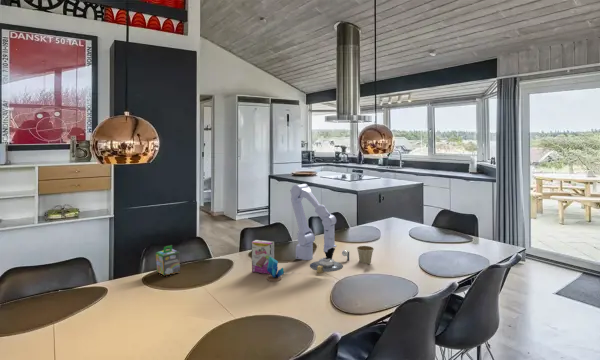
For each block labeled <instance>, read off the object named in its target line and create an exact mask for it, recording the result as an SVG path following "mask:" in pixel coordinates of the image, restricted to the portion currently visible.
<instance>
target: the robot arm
mask: <svg viewBox="0 0 600 360" xmlns="http://www.w3.org/2000/svg"><path fill="white" fill-rule="evenodd" d="M290 194H291V195H290V201H291V206H292V208H293V211H294V217H295V219H296V223H297V226H298V231H297V233H296V234H297V235H296V236H297V242H298V244H296V245H295V260H303V261H310V260H313V259H314V257H313V256H314V255H313V254H314V253H313V252H314V250H313V249H314V248H313V247H314V245H313V244H314V242H315V240H316V235H315V233H313V230H312V228H310V227H309V225H308V222H307V218H306V214H305V211H304V207H303V204H302V200H303V199H307V201H308V202H309V203H310V204H311V205H312V207H314V212H315V213H316V214H317V215H318V217H319V218H320V220H322V221H321V224H322V226H323V240H324V241H323V253H324V254H325V257H328V258H331V259H333V256H334V252H335V250H336V247H337V245H336V243H335V234H336V233H335V230H336V229H335V225H336V224H337V218H336V216H335V215H334V214H331V212H329V211H328V209H327V206H325V205H324V204H320V202H319V201H318V199H317V198H316V196H315V195H314V194H313V192H312V189H311V188H310V186H309V185H308V184H307V183H302V184H301V183H300V184H294V185H292V187H291V189H290Z"/></svg>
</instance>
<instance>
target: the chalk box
mask: <svg viewBox="0 0 600 360" xmlns="http://www.w3.org/2000/svg"><path fill="white" fill-rule="evenodd" d="M155 262H156V265H155V266H156V273H157V272H159V273H161V274H163V275H166V274H170V273H173V272H178V271H180V272H181V260H180V251H179V250H175V249H173V244H170V245H165V246H163V250H160V251H157V252H155Z"/></svg>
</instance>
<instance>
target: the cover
mask: <svg viewBox="0 0 600 360" xmlns="http://www.w3.org/2000/svg"><path fill="white" fill-rule="evenodd" d="M318 261H319V265H320V266H323V268H332V267H334V261H335V260H334V259H333V258H332V259H331V258H328V257H326V256H325V257H322V258H319V260H318Z"/></svg>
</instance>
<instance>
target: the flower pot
mask: <svg viewBox="0 0 600 360" xmlns="http://www.w3.org/2000/svg"><path fill="white" fill-rule="evenodd" d="M356 249H357V253H358V260H359V263H362V264H367V265H371V263H372V256H373V252H374V249H375V247H373V246H369V245H360V246H357V247H356Z"/></svg>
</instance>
